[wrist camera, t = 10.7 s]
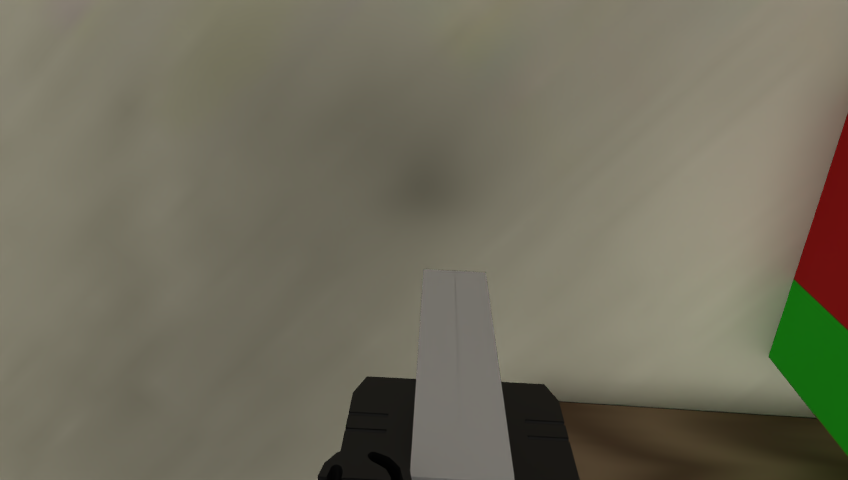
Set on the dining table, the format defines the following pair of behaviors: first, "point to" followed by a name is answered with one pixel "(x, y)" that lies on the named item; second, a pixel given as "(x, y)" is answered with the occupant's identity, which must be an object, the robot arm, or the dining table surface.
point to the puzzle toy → (821, 308)
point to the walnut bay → (698, 445)
